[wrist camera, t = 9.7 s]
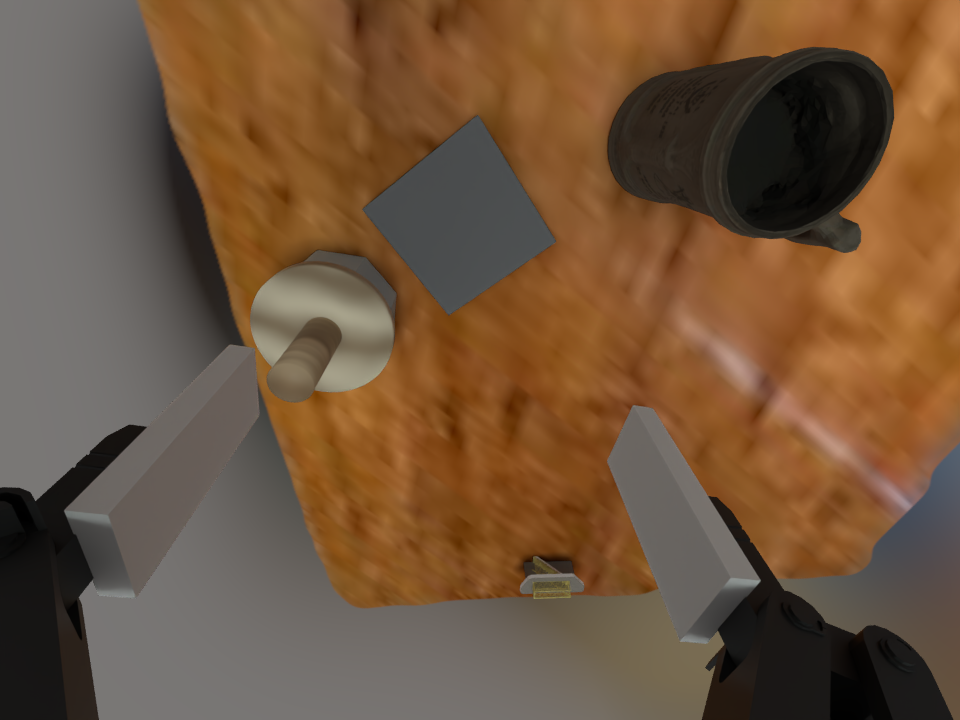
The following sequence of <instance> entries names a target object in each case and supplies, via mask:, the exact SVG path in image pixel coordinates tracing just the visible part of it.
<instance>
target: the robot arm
mask: <svg viewBox="0 0 960 720" xmlns="http://www.w3.org/2000/svg"><path fill="white" fill-rule="evenodd" d="M258 416H259V403H258V389H257V375H256V360H255V348H249V347H243V346H236V345H229V346H228V347H227V348H226V349H225V350H224V351H223V352H222V353H221V354H220V355H219V356H218V357H217V358H216V359H215V360H214V361H213V362H212V363H211V364H210V365H209V366H208V367H207V368H206V369H205V370H204V371H203V372H202V373H201V374H200V375H199V376H198V377H197V378H196V379H195V380H194V381H193V382H192V383H191V384H190V385H189V386H188V387H187V388H186V389H185V390H184V391H183V392H182V393H181V394H180V395H179V396H178V397H177V398H176V399H175V400H174V401H173V402H172V403H171V404H170V405H169V406H168V407H167V408H166V409H165V410H164V411H163V412H162V413H161V414H160V415H159V416H158V417H157V418H156V419H155V420H154V421H153V422H152V423H151V424H150V425H149V426H148V427H144V426H136V425H128V426H126V427H124V428H122V429H120V430H118V431H116V432H114V433H112V434H110V435H108V436H107V437H105V438H104V439H103V440H102V441H101V442H100V443H99V444H98V445H97V446H96V447H94V448H93V449H92V450H91V451H90V454H89V455H86V456H85V457H84V458H82V459H81V460H80V461H79V462H78V463H77V464H76V467H75V468H71V469H70V470H69V471H68V472H67V473H66V474H65V475H64V476H63V477H62V478H61V479H60V480H58V481H57V482H56V483H55V484H54V485H53V486H52V487H51V488H50V489H48V490H47V491H46V492H45V493H44V494H43V495H42V496H41V497H40V498H39V499H37V501H35V500H34V498H33V496H32V494H31V493H30V492H29V491H26V490H24V489H21V488H7V487H2V488H0V720H99V718H98V712H97V704H96V697H95V691H94V685H93V677H92V670H91V664H90V657H89V650H88V643H87V637H86V630H85V623H84V617H83V610H82V604H81V602H80V600H79V596H80V595H81V593H82V592H83V591H84V590H85V588H86V587H87V586H88V585H89V583H90V582H91V581H92V580H93V583H94V585H95V587H96V590H97V592H98V595H101V596H113V597H126V598H137V596H138V595H139V593H140V592H141V590H142V589H143V587H144V586H145V584H146V583H147V581H148V580H149V579H150V577H151V576H152V574H153V572H154V571H155V570H156V568H157V567H158V565H159V564H160V562H161V561H162V559H163V558H164V556H165V555H166V553H167V552H168V550H169V549H170V547H171V546H172V544H173V543H174V541H175V540H176V538H177V537H178V535H179V534H180V532H181V531H182V529H183V528H184V526H185V525H186V523H187V522H188V521H189V519H190V518H191V516H192V515H193V513H194V511H195V510H196V509H197V507H198V505H199V504H200V503H201V501H202V500H203V498H204V497H205V495H206V493H207V492H208V491H209V489H210V488H211V486H212V485H213V483H214V482H215V480H216V478H217V477H218V476H219V474H220V473H221V471H222V470H223V468H224V467H225V465H226V464H227V463H228V461H229V459H230V458H231V456H232V455H233V453H234V452H235V451H236V449H237V448H238V446H239V445H240V443H241V442H242V440H243V439H244V437H245V436H246V434H247V433H248V431H249V430H250V428H251V427H252V425H253V424H254V422H255V421H256V419H257V418H258ZM607 462H608V464H609V467H610V469H611V472H612V474H613V477H614V479H615V482H616V484H617V487H618V489H619V492H620V494H621V497H622V499H623V502H624V504H625V507H626V509H627V511H628V514H629V516H630V519H631V521H632V524H633V526H634V529H635V531H636V534H637V536H638V539H639V541H640V544H641V546H642V549H643V551H644V554H645V556H646V559H647V561H648V564H649V566H650V568H651V571H652V573H653V576H654V578H655V581H656V583H657V586H658V588H659V591H660V593H661V596H662V598H663V600H664V603H665V606H666V608H667V611H668V613H669V616H670V618H671V621H672V623H673V625H674V628H675V630H676V633H677V635H678V637H679V640H680V641H681V642H694V643H708V642H709V640H710V639H711V638H712V637H713V636H714V635H715V633H716V632H717V631H719V633H720V636H721V637H722V640H723V642H724V644H725V645H724V646H723V647H722V648H721V649H720V650H719V651H718V653H717V654H716V655H715V656H714V657H713V658H712V659H711V660H710V661H709V663H708V664H707V666H706V667H705V668H706V669H707V670H709V671H710V670H711V669H712V668H713V667H714V666H715V665H716V666H715V670H714V674H713V678H712V682H711V686H710V690H709V693H708V698H707V701H706V705H705V709H704V713H703V717H702V720H953V718H952V715H951V713H950V711H949V709H948V707H947V705H946V703H945V700H944V698H943V697H942V694H941V692H940V690H939V688H938V685H937V683H936V681H935V679H934V677H933V675H932V673H931V671H930V669H929V668H928V666H927V664H926V663H925V661H924V660H923V659H922V657H921V656H920V655H919V654H918V653H917V652H916V651H915V650H914V649H913V648H912V647H911V646H910V645H909V644H908V643H907V642H905V641H904V640H903V639H901V638H900V637H899V636H897V635H895V634H894V633H892V632H890V631H889V630H887V629H885V628H881V627H878V626H876V625H873V626H866V627H865V628H864V629H863V630H862V631H860V632H859V633H858V634H857V635H855V634H853V633H850V632H848V631H845V630H842V629H840V628H838V627H835V626H833V625H830V624H828V623H825V621H824V619H823V618H822V616H821V615H820V614H819V613H818V612H817V611H816V610H815V609H814V607H813V606H811V605H810V604H809V603H807V602H806V601H805V600H803V599H802V598H801V597H799V596H797V595H795V594H793V593H791V592H788V591H784V589H783V588H782V587H781V585H780V584H779V582H778V581H777V579H776V578H775V576H774V575H773V573H772V571H771V570H770V568H769V567H768V565H767V564H766V562H765V561H764V559H763V558H762V556H761V555H760V553H759V552H758V550H757V549H756V547H755V546H754V544H753V543H751V542H750V538H749V537H748V535H747V534H746V532H745V531H744V530H742V526H741V525H740V523H739V522H738V520H737V519H736V517H735V516H734V514H733V513H732V511H731V510H730V509H729V508H728V507H726V506H725V505H724V504H723V503H722V502H721V501H720V500H719V499H718V498H717V497H711V496H707V494H706V492H705V491H704V489H703V488H702V486H701V484H700V483H699V481H698V480H697V478H696V476H695V475H694V473H693V472H692V470H691V468H690V467H689V465H688V464H687V462H686V461H685V459H684V457H683V456H682V454H681V453H680V451H679V449H678V448H677V446H676V445H675V443H674V441H673V440H672V438H671V437H670V435H669V433H668V432H667V430H666V429H665V427H664V425H663V424H662V422H661V421H660V419H659V417H658V416H657V414H656V413H655V411H654V409H653V408H647V407H641V406H634V405H633V407H632V409H631V411H630V413H629V415H628V417H627V420H626V422H625V424H624V426H623V428H622V430H621V433H620V435H619V437H618V439H617V441H616V443H615V446H614V448H613V450H612V452H611V454H610V456H609V458H608V461H607Z"/></svg>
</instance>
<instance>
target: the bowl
mask: <svg viewBox="0 0 960 720" xmlns="http://www.w3.org/2000/svg"><path fill="white" fill-rule="evenodd" d="M308 261H322V262H330V263H334V264H338V265H341V266H344V267H347V268H349V269H351V270H353V271H355V272H357V273H359V274H360V275H362V276H363V277H365V278H366V279H367V280H368V281H370V282H371V283H372V284H373V285H374V286H375V287H376V288H377V289H378V290H379V291H380V293H381V294H382V295H383V297H384V298H385V300H386V302H387V303H388V305H389V307H390V310H391V312H392V315H393V319H394V321H395V308H396V296H397V293H396V292H395V291H394V290H393V289H392V287H391V286H390V285H389V284H388V283H387V282H386V280H385V279H384V278H383V277H382V276H381V275H380V273H379V272H378V271H377V270H376V269H375V268H374V266H373V265H372V264H371V263H370V262H369V261H368V259H367V258H366V257H360V256H353V255H347V254H340V253H334V252H327V251H321V250H317V251H316V252H314V253H313V254H312V255H311V256H309V257H308V258H307V259H306V260H304V261H303V262H308Z"/></svg>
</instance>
